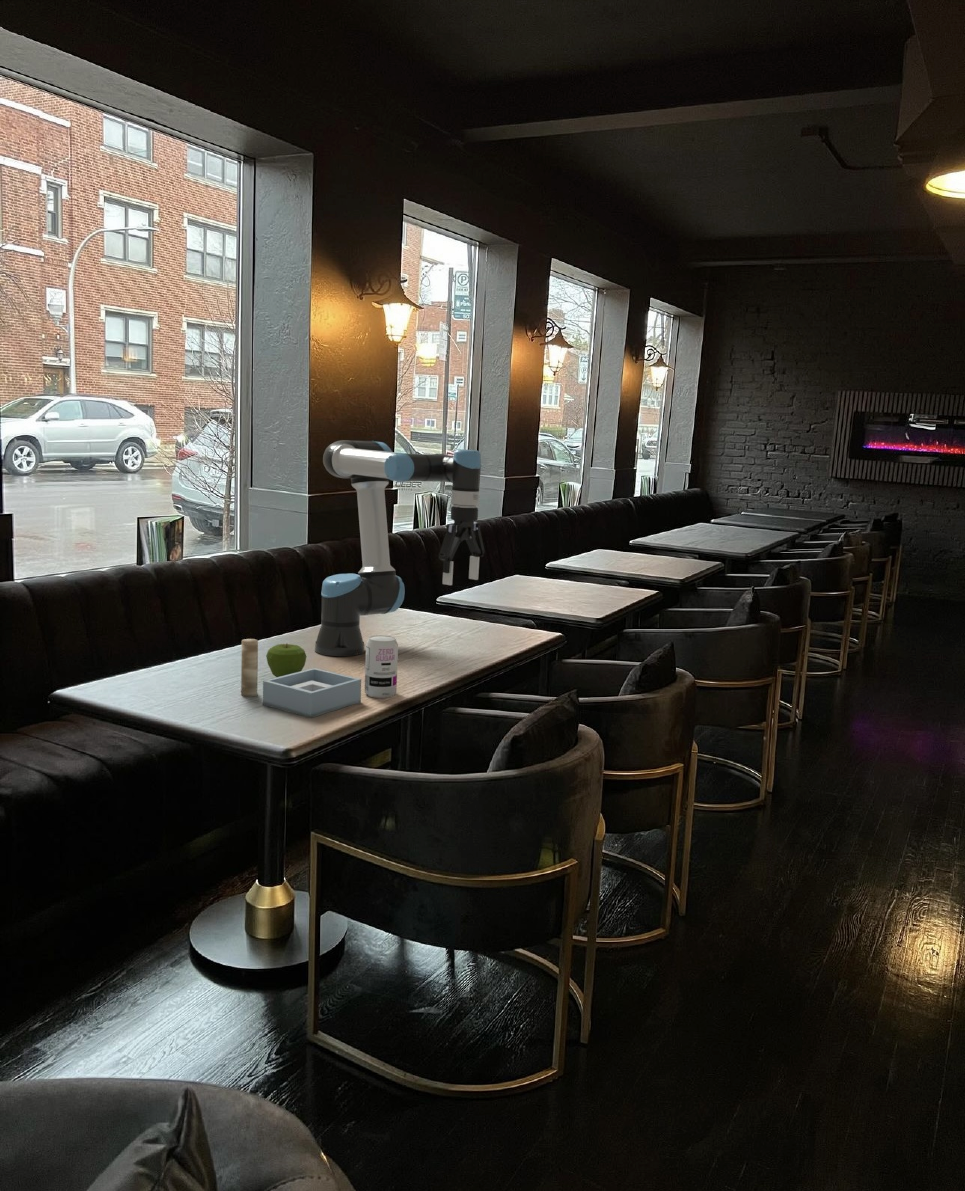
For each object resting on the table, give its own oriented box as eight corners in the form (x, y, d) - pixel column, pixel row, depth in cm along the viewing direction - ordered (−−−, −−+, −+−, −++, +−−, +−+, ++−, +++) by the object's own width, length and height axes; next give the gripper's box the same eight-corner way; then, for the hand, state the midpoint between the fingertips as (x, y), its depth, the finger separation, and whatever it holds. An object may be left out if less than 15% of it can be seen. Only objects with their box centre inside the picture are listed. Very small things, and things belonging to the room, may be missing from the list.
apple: (258, 677, 262) (259, 641, 260) (293, 672, 268) (294, 637, 267) (278, 686, 254) (278, 649, 252) (313, 681, 260) (314, 645, 259)
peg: (237, 694, 244) (238, 640, 242) (249, 691, 248) (250, 638, 245) (248, 697, 242) (249, 643, 240) (260, 694, 245) (261, 640, 243)
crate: (262, 704, 237) (263, 680, 236) (313, 690, 252) (314, 668, 251) (310, 717, 228) (311, 693, 227) (360, 702, 243) (361, 679, 242)
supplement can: (380, 688, 257) (382, 633, 254) (402, 695, 252) (404, 638, 249) (358, 693, 250) (359, 637, 248) (380, 700, 245) (382, 643, 243)
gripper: (451, 509, 254) (447, 588, 258) (499, 505, 275) (494, 578, 279) (428, 506, 258) (424, 584, 261) (476, 502, 279) (472, 575, 283)
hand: (460, 581), depth 270 cm, fingers open, 13 cm apart
